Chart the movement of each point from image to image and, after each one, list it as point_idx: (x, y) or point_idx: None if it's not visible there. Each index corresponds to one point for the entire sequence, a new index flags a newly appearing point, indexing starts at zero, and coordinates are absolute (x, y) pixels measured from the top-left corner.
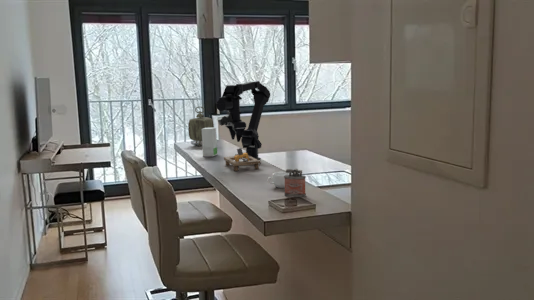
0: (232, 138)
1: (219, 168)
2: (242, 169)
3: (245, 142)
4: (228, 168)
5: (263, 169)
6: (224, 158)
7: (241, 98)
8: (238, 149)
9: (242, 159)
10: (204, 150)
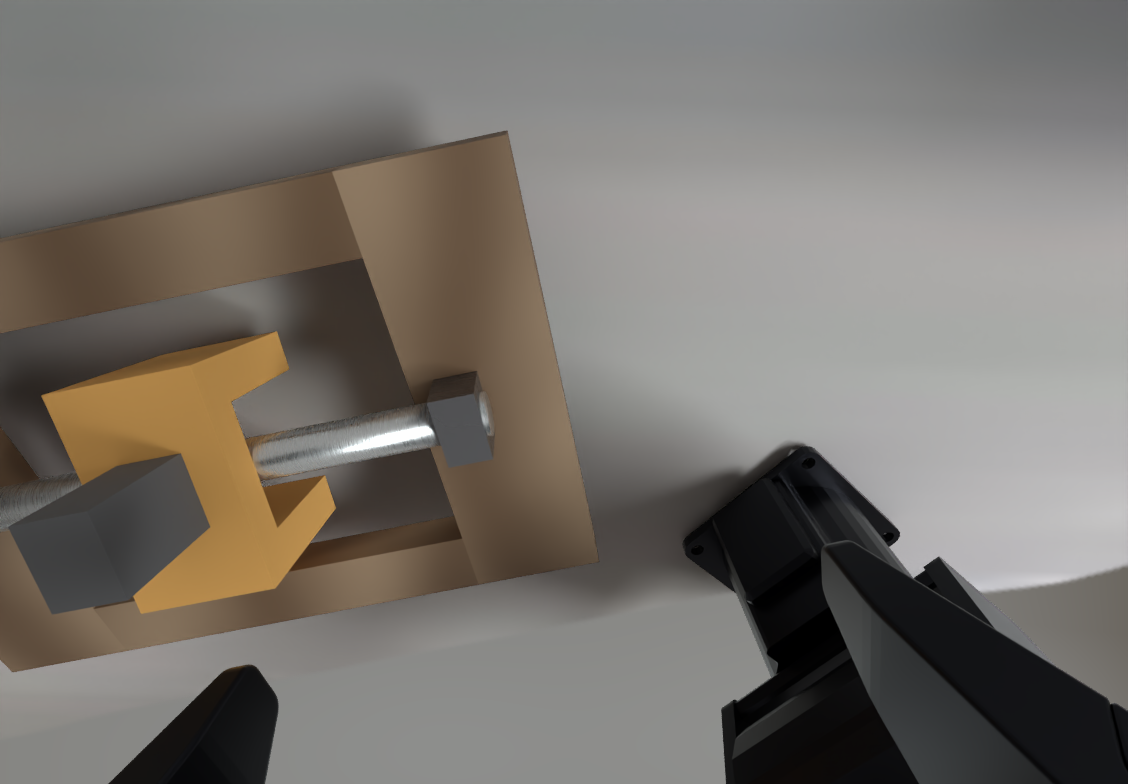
0: (834, 577)
1: (128, 10)
2: None
3: (846, 696)
4: (134, 188)
5: None
6: (437, 147)
7: None
8: (19, 543)
9: (52, 477)
10: None
